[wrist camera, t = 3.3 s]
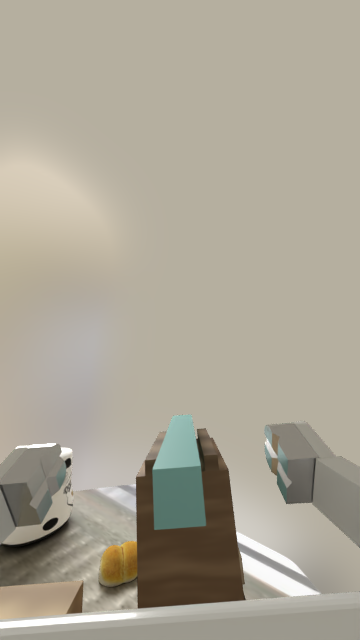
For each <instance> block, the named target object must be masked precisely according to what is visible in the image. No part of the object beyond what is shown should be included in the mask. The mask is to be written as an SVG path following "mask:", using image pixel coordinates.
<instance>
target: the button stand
mask: <svg viewBox="0 0 360 640" xmlns="http://www.w3.org/2000/svg"><path fill="white" fill-rule="evenodd" d="M166 433H167V431H166V432H160V433H159V434H158V436H157V438H156V441H155V442H154V444H153V446H152V448H151V450H150V452H149V453H148V455H147V457H146V459H145V461H144V463H143V465H142V467H141V469H140V470H139V472H138V474H137V476H136V509H137V586H138V609H139V608H152V607H165V606H178V605H191V604H204V603H217V602H230V601H243V600H245V596H244V592H243V585H242V584H245V582H244V574H243V566H242V558H241V554H240V551H239V548H238V544H237V536H236V528H235V520H234V512H233V504H232V496H231V487H230V479H229V471H228V468H227V466H226V464H225V462H224V460H223V458H222V456H221V454H220V452H219V450H218V448H217V446H216V444H215V442H214V440H213V438H210V437H209V435H208V433H207V430H206V429H197V434H198V439H196V443H197V448H198V453H199V459H200V464H201V473H202V485H203V496H204V507H205V518H206V526H199V527H186V528H174V529H161V530H154V505H153V474H152V469H153V467H154V464H155V461H156V459H157V456H158V454H159V451H160V448H161V446H162V443H163V441H164V438H165V435H166Z"/></svg>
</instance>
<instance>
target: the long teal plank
mask: <svg viewBox="0 0 360 640" xmlns="http://www.w3.org/2000/svg"><path fill="white" fill-rule="evenodd" d="M152 474H153V505H154V530H161V529H174V528H186V527H199V526H206V518H205V507H204V496H203V485H202V473H201V464H200V459H199V453H198V448H197V443H196V437H195V432H194V426H193V421H192V416H191V415H179V416H173V417H172V420H171V422H170V425H169V427H168V430H167V433H166V435H165V438H164V441H163V443H162V446H161V448H160V451H159V454H158V456H157V459H156V461H155V464H154V467H153V469H152Z"/></svg>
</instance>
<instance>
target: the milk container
mask: <svg viewBox="0 0 360 640" xmlns="http://www.w3.org/2000/svg"><path fill="white" fill-rule="evenodd" d="M61 450H62V453H61V454H60V457H61V458H62V459H63V460H64V461H65V464H66V475H65V479H64V482H63V484H62V486H61V488H60V490H59V491H58V492H57V493H55V494H54V495H53V496H52V501H53V503H52V505H51V507H50V509H49V511H48V512H47V514H46V516H45V518H44V520H43V522H42V524H39V525H30V526H22V527H16V529H15V530H14V531H13V532H12V533H11V534H10V535H9V536H8V537H7V538H6V539H5V540H4V541H3V542H2V544H3V545H5V546H11V547H16V546H24V545H28V544H31V543H34V542H37V541H39V540H41V539H44V538H46V537H48V536H50V535H51V534H53V533H54V532H56V531H57V530H59V529H60V528H61V527H62V526H63V525H64V524H65V523H66V522H67V520H68V518H69V516H70V514H71V511H72V507H73V491H72V486H71V474H72V460H73V455H72V450H71V449H69V448H61Z"/></svg>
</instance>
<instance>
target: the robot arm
mask: <svg viewBox="0 0 360 640" xmlns="http://www.w3.org/2000/svg"><path fill="white" fill-rule="evenodd" d="M265 435H266V437H267V439H268V440H267V441H266V442H265V454H266V459H267V462H268V465H269V467H270V469H271V472H273V473H274V474H275V475H277V485H278V487H279V489H280V491H281V493H282V495H283V497H284V500H285V501H286V504H293V503H312V504H313V505H314V506H315V507H316V508H317V509H318V510H319V511H320V512H321V513H323V514H324V515H325V516H326V517H327V518H328V519H329V520H330V521H331V522H332V523H334V524H335V525H336V526H337V527H338V528H339V529H340V530H341V531H342V532H343V533H344V534H345V535H346V536H348V537H349V538H350V539H351V540H352V541H353V542H354V543H355V544H356V545H357V546H358V547H359V548H360V467H359V466H357V465H355V464H354V463H352V462H350V461H348V460H346V459H345V458H343V457H341V456H339V457H336V456H335V455H334V453H333V452H332V451H331V450H330V448H329V447H328V446H327V445H326V444H325V443H324V441H323V440H322V439H321V438H320V437H319V436H318V434H317V433H316V432H315V431H314V430H313V429H312V427H311V426H310V425H309V424H308V423H307V422H305V421H301V422H292V423H282V424H272V425H266V426H265ZM61 453H62V450H61V447H60V445H59V444H43V445H31V446H19V447H17V448H15V449H14V450H13V451H12V452H11V453H10V455H9V456H8V457H7V458H6V459H5V460H4V461H3V462H2V463H1V464H0V545H1V544H2V542H3V541H4V540H5V539H6V538H7V537H8V536H9V535H10V534H11V533H12V532H13V531H14V530H15V529H16V527H22V526H30V525H39V524H42V522H43V520H44V518H45V516H46V514H47V512H48V511H49V509H50V507H51V505H52V503H53V501H52V496H53V495H54V494H55V493H57V492H58V491H59V490H60V488H61V486H62V484H63V482H64V479H65V475H66V464H65V461H64V460H63V459H62V458H61V457H60V454H61ZM0 640H360V591H359V592H348V593H347V592H346V593H334V594H320V595H307V596H294V597H282V598H269V599H256V600H243V601H230V602H217V603H204V604H191V605H178V606H165V607H152V608H139V609H126V610H113V611H101V612H88V613H75V614H63V615H50V616H37V617H25V618H12V619H0Z"/></svg>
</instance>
